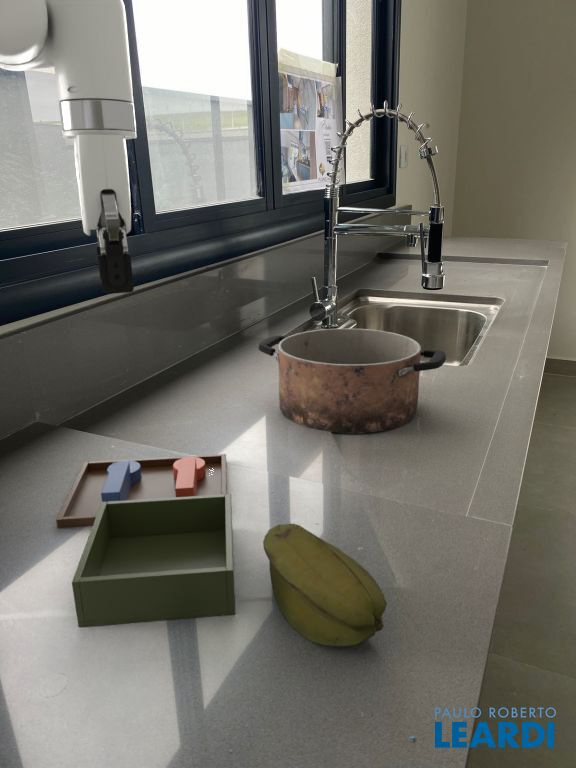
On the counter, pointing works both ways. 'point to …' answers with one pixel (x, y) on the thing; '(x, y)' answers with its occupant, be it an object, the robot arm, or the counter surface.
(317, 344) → the cooking pot
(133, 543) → the bin
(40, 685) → the counter surface
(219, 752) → the counter surface
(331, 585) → the fruit
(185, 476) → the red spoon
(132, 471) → the blue block
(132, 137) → the robot arm
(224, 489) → the tray
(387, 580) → the counter surface
